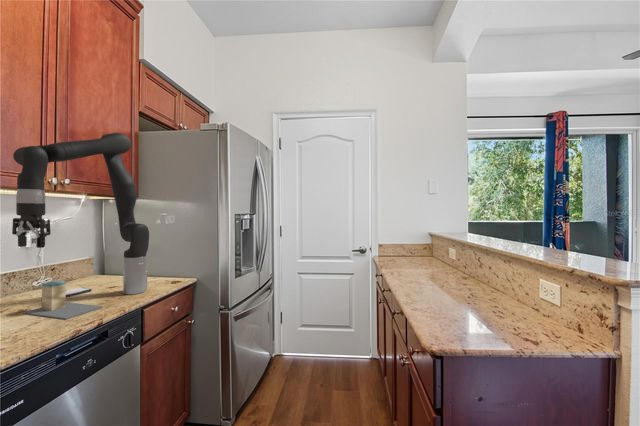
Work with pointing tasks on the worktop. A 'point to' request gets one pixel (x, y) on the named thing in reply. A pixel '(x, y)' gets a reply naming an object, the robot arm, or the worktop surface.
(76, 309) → the slate mat
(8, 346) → the worktop surface
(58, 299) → the maple block
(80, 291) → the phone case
